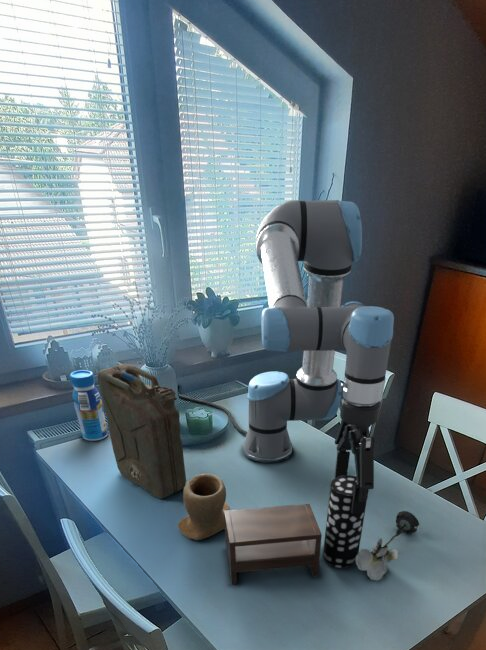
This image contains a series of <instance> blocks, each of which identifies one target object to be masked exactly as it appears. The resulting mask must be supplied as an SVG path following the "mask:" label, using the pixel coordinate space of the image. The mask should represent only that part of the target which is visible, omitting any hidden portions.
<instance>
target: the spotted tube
mask: <svg viewBox="0 0 486 650" xmlns="http://www.w3.org/2000/svg"><path fill="white" fill-rule="evenodd" d="M356 484H357V480H356V475H350V474H347V475H343V476H338V477H336V478H334V477H333V478H332V480H331V481H330V486H329V495H328V503H327V504H328V505H327V513H326V521H325V522H326V523H325V531H324V542H323V549H322V550H323V551H322V558H323V560H324V562H325V563H326V564H328V565H330V566H331V567H334V568H339V569H342V568H343V569H345V568H349V567H352V566H354V565H355V564H356V560H355V559H356V555H357V554H358V553H359V552H360V545H361V539H362V533H363V527H364V522H365V515H366V512H365V513H354V514H352V513H351V508H352V501H353V494H354V487H353V486H354V485H356ZM369 491H370V489H368V492H369ZM368 497H369V493H368V494H367V498H368ZM367 502H368V500H367V501H366V505H367V504H368V503H367ZM366 508H367V506H366V507H365V511H366Z"/></svg>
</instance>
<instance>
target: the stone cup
mask: <svg viewBox="0 0 486 650" xmlns="http://www.w3.org/2000/svg"><path fill="white" fill-rule="evenodd" d="M182 493H183V494H182V497H183V506H184V508H185V510H186V512H187V514H188V515H187V516H185V517H184V518H182V519H180V521H178V523H177V527H178V530H179V531H180V533H181V534H182V535H183V536H185V537H186V538H188V539H191V540H194V541H202V540H205V539H207V538H210V537H212V536H214V535H216V534H217V533H219V532H221V531H223V530H225V520H224V511H227V510H231V508H230V505H229V504H228V503H227V502H226V500H227V488H226V485H225V483H224V481H223V479H222V478H221V477H220V476H218V475H216V474H212V473H199V474H197V475H194V476H193V477H191V479H189V480H188V481H186V483H185V487H184V488H183V492H182Z"/></svg>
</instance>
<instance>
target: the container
mask: <svg viewBox="0 0 486 650" xmlns="http://www.w3.org/2000/svg"><path fill="white" fill-rule="evenodd" d="M141 377H143V378H145V379H147V380H148V381H151V385H152V386H150V385H149V384H147V383H146V382H145V381H144V380H143V379H142V378H141ZM97 381H98V386H99V391H100V396H101V400H102V405H103V409H104V412H105V416H106V420H107V421H106V422H107V429H108V434H109V437H110V443H111V445H112V451H113V455H114V459H115V462H116V463H115V464H116V466H117V470H118V471H119V473H120V475H121V476H122V477H123V478H124V479H126V480H128V481H129V482H131V483H133V484H134V485H137V486H139V487H141V488H142V489H143V490H145V491H146V492H147V493H149V494H151V496H153V497H155V498H157V499H165V498H167V497H169V496H172V495H173V494H175V493H177V492H179V491H181V490H184V487H185V485H186V483H187V476H186V466H185V458H184V450H183V449H184V448H183V441H182V437H181V435H182V433H181V422H180V421H181V420H180V414H179V410H178V408H177V406H176V405H175V401H177V400H178V398H177V397H176V393H175V389H173V388H172V387H171V388H170V387H166V386H160V384H159V381H158V379H157V377H156V376H155V375H154V374H152V373H151V372H148V371H146V370H144V369H141V368H139V367H138V366H136V365H133V364H131V363H121V364H117V365H114V366H111V367H107V368H105V369H102V370H101V369H100V370H99V371H98V373H97Z"/></svg>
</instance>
